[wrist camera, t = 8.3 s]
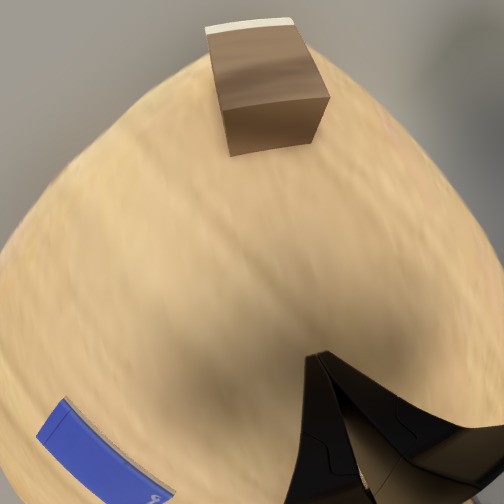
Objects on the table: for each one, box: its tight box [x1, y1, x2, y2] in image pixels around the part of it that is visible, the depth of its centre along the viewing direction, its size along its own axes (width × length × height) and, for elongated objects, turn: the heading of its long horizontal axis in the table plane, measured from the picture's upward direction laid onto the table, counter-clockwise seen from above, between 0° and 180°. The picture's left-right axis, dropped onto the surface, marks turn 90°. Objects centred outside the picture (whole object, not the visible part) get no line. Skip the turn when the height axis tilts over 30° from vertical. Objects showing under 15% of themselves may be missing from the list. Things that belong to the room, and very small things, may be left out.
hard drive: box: [36, 397, 176, 504], centre depth 16 cm, size 2×8×12 cm
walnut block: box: [205, 18, 330, 157], centre depth 17 cm, size 6×6×8 cm
